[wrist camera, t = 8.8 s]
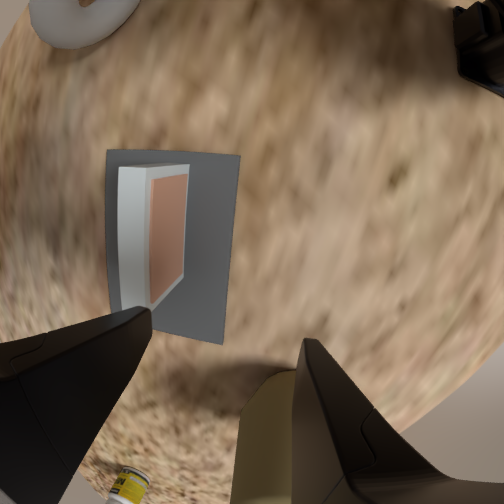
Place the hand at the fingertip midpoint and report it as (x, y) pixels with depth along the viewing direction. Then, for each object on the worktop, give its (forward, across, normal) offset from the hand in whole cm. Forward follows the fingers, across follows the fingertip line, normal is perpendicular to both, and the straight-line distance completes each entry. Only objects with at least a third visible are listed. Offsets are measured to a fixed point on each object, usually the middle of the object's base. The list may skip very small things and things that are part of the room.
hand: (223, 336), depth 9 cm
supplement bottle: (+12, +15, +40) cm, 44 cm away
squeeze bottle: (+12, -4, +13) cm, 19 cm away
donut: (+12, +13, -17) cm, 25 cm away
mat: (+12, +7, +2) cm, 14 cm away
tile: (+12, +6, 0) cm, 13 cm away
